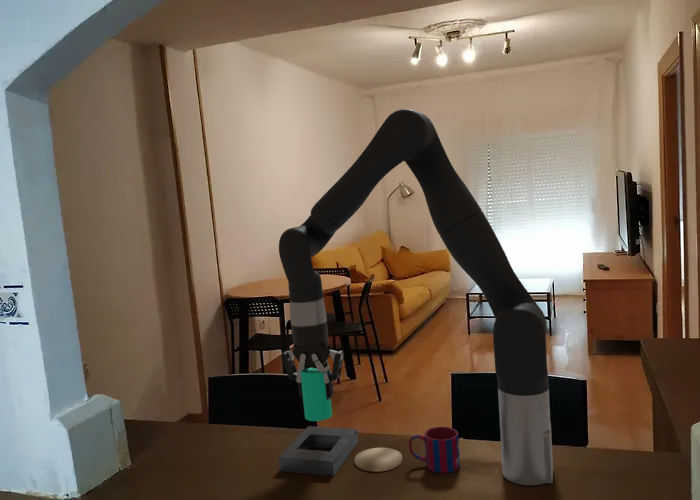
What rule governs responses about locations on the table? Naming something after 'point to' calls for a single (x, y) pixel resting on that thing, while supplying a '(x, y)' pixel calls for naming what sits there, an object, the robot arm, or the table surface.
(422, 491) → the table surface
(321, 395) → the candle
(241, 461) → the table surface
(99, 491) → the table surface
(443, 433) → the mug
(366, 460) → the cork coaster
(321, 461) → the grey rectangular frame
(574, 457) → the table surface
